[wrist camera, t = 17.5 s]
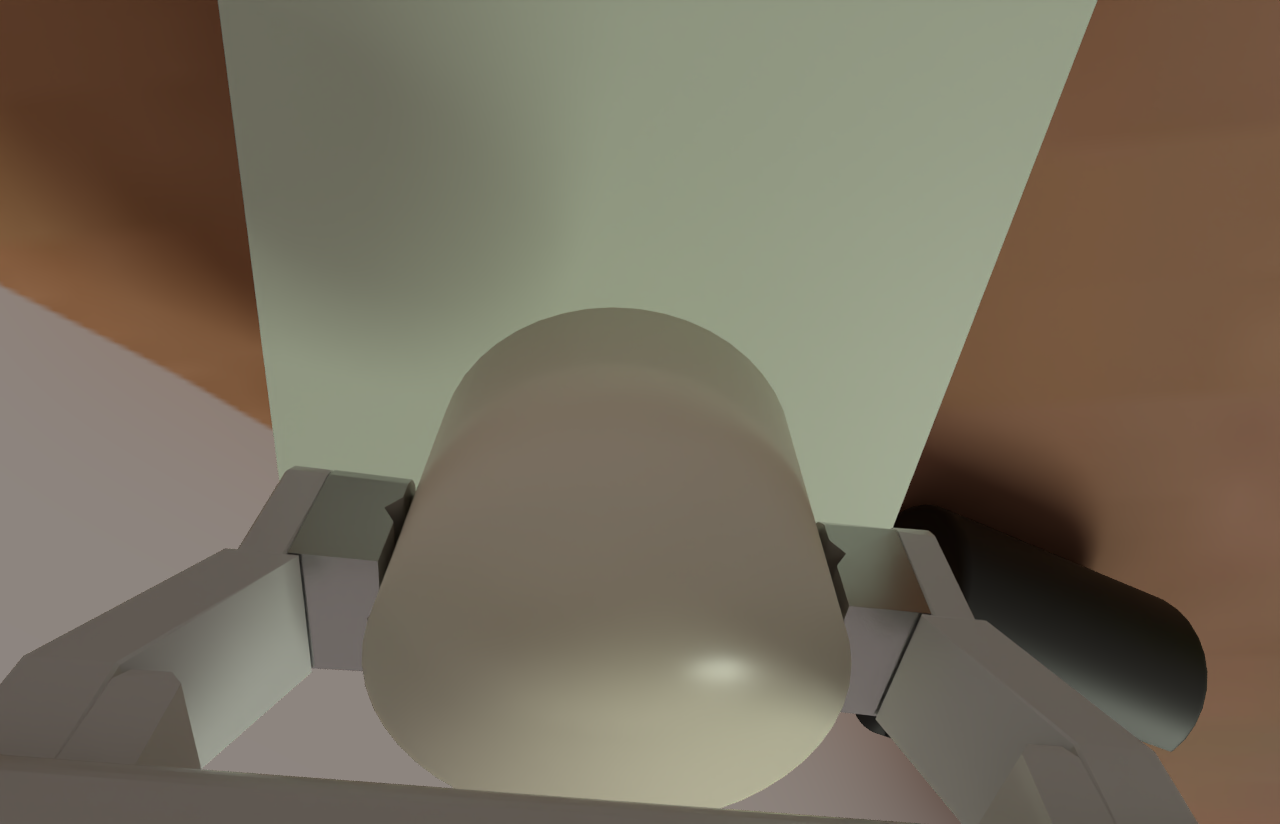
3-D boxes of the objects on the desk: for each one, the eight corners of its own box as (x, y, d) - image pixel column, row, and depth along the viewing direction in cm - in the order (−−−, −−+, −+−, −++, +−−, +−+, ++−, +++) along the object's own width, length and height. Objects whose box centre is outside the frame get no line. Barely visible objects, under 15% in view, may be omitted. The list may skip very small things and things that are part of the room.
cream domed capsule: (440, 285, 11) (348, 465, 7) (830, 331, 11) (916, 523, 8) (439, 578, 13) (372, 809, 10) (752, 608, 14) (789, 840, 10)
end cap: (1138, 549, 31) (1250, 698, 25) (1015, 664, 34) (1090, 818, 29) (921, 456, 29) (992, 596, 23) (812, 589, 32) (850, 740, 26)
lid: (203, -273, 11) (182, -282, 10) (1109, -114, 13) (1141, -114, 12) (308, 620, 19) (300, 647, 19) (834, 629, 21) (843, 654, 21)
